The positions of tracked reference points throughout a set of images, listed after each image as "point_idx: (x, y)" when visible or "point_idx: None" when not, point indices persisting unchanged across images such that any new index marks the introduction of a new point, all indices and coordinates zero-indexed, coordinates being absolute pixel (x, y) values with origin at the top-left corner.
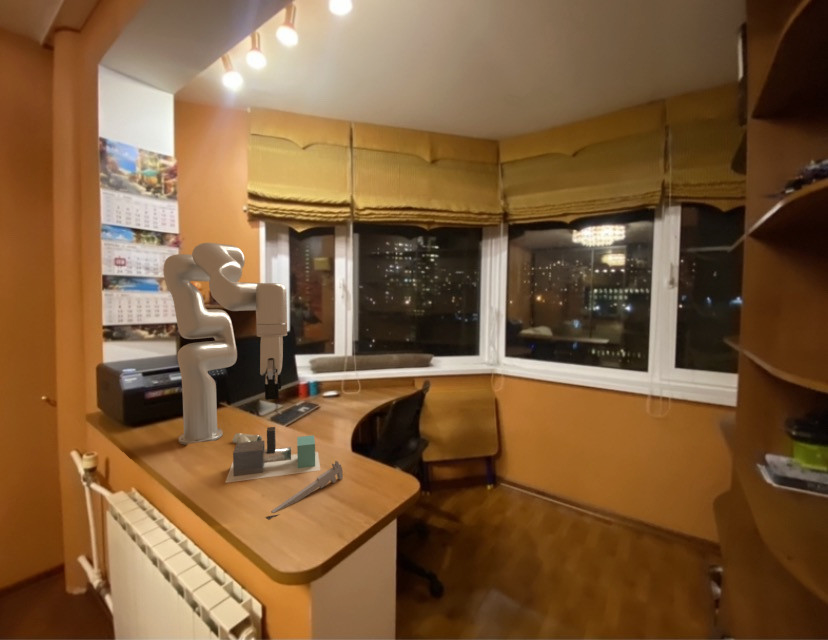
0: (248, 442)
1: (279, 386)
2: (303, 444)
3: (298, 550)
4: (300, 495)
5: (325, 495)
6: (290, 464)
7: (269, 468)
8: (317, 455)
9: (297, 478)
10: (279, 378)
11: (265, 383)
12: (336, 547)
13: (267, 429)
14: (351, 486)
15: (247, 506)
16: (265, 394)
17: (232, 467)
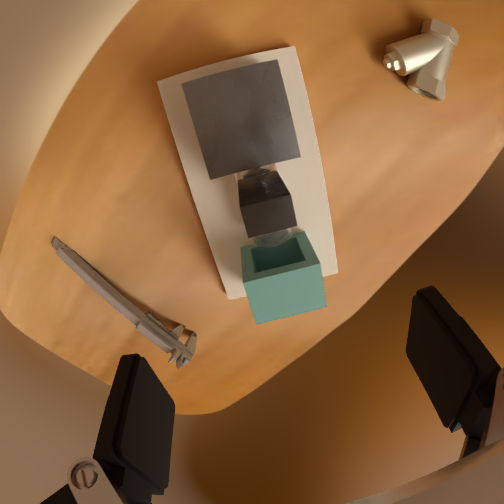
0: (283, 101)
1: (413, 362)
2: (254, 296)
3: (17, 301)
4: (99, 292)
5: None
6: None
7: None
8: None
9: (205, 250)
10: (440, 410)
11: (71, 466)
12: (37, 339)
13: (264, 202)
14: None
15: (80, 182)
16: (113, 383)
17: (252, 58)
